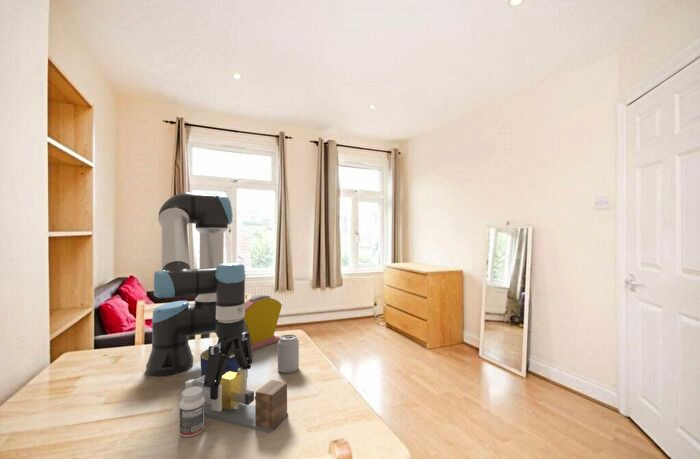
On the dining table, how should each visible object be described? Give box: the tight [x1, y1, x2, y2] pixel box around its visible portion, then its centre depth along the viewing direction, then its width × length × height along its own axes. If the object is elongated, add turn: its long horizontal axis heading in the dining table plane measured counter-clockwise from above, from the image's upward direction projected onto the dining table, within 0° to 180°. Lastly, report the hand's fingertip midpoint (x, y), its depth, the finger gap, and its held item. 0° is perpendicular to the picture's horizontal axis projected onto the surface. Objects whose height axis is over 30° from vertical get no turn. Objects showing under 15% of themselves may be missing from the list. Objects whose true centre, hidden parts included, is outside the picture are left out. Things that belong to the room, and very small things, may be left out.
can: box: [277, 333, 300, 374], centre depth 114 cm, size 8×8×12 cm
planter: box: [199, 349, 241, 377], centre depth 102 cm, size 12×12×11 cm
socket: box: [254, 379, 288, 432], centre depth 83 cm, size 5×7×9 cm
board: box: [205, 403, 289, 434], centre depth 87 cm, size 27×8×1 cm, turn 70°
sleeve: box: [192, 375, 216, 412], centre depth 90 cm, size 8×5×8 cm
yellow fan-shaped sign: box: [243, 294, 283, 352], centre depth 141 cm, size 22×9×22 cm, turn 145°
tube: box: [184, 371, 255, 409], centre depth 89 cm, size 22×4×8 cm, turn 70°
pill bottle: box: [179, 387, 206, 438], centre depth 79 cm, size 6×6×10 cm
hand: (230, 400), depth 87 cm, fingers open, 9 cm apart
